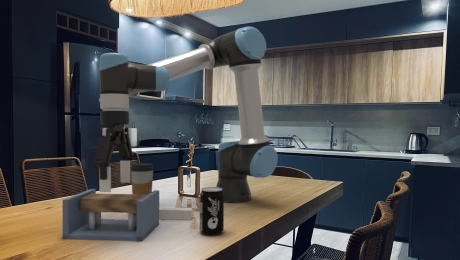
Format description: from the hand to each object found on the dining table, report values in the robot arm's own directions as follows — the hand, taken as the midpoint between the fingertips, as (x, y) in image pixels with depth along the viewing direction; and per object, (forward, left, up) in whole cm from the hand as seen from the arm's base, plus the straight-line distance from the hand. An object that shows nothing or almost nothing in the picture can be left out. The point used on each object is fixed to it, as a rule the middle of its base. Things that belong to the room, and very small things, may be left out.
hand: (116, 187), depth 93 cm
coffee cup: (+3, -32, -12) cm, 34 cm away
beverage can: (-27, -1, -12) cm, 29 cm away
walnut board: (0, 0, -6) cm, 6 cm away
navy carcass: (0, 0, -12) cm, 12 cm away
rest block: (-14, -14, -12) cm, 23 cm away
